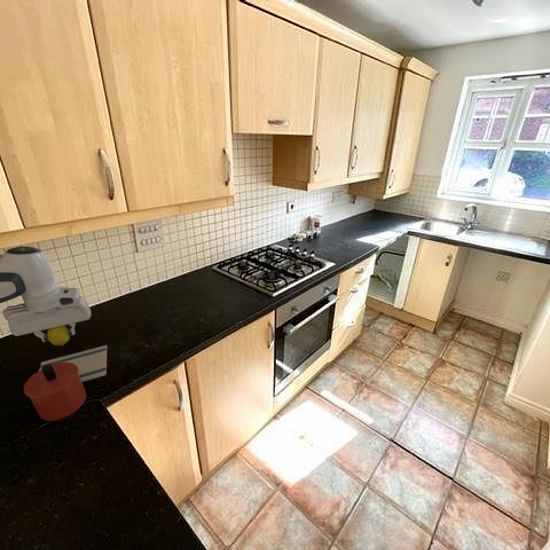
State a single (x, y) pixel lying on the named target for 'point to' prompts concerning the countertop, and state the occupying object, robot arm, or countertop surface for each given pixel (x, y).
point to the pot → (61, 402)
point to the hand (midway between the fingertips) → (59, 337)
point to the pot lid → (50, 379)
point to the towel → (85, 362)
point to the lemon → (58, 335)
